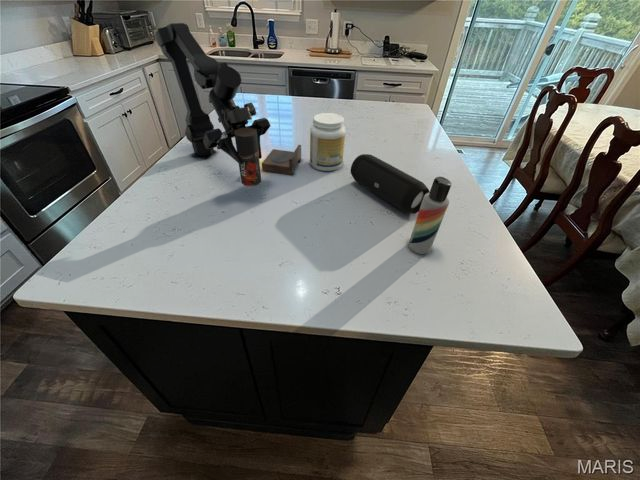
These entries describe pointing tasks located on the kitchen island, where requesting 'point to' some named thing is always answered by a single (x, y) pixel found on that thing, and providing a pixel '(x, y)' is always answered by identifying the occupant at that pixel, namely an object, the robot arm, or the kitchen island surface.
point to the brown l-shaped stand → (282, 161)
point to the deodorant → (248, 156)
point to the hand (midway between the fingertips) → (251, 161)
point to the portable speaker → (389, 183)
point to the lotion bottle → (430, 216)
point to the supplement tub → (327, 141)
